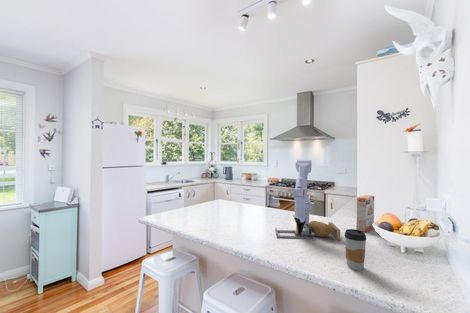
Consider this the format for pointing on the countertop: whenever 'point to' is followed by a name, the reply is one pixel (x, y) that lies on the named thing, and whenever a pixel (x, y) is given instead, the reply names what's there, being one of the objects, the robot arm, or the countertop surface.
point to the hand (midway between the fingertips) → (299, 230)
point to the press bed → (335, 235)
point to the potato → (321, 228)
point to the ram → (304, 233)
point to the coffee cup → (355, 248)
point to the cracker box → (365, 213)
